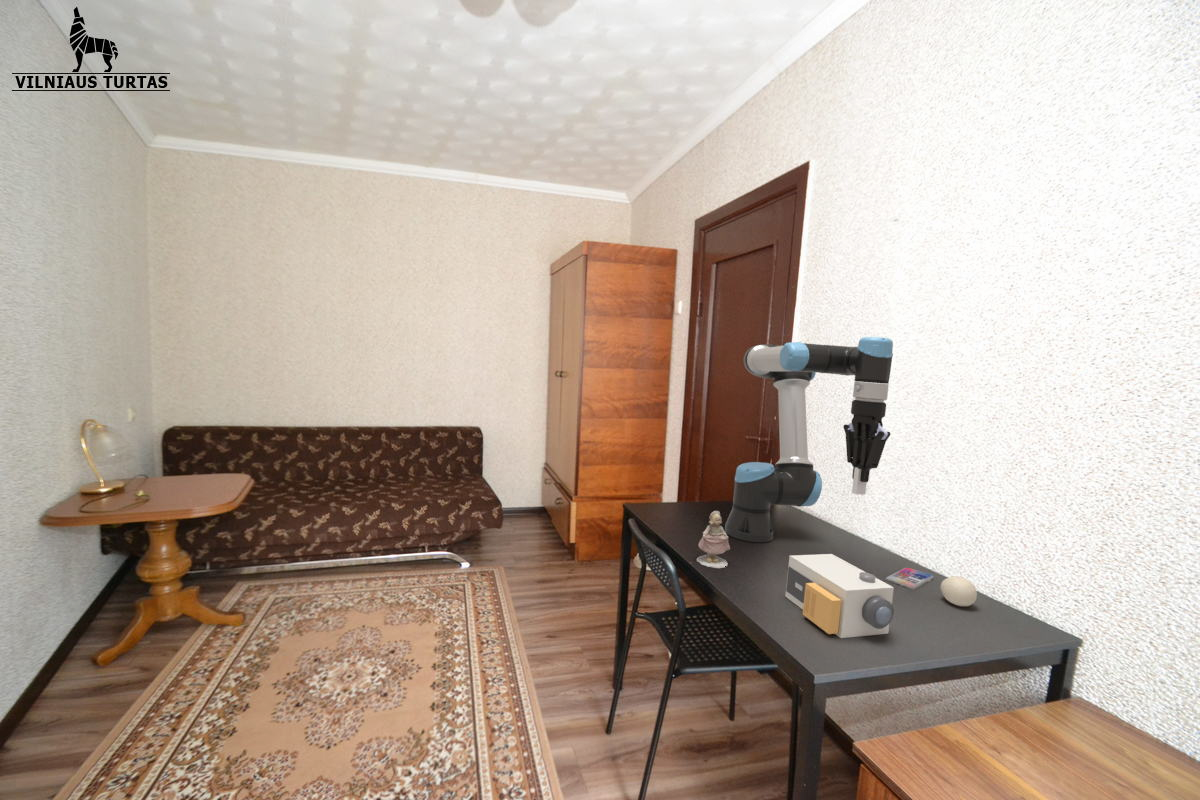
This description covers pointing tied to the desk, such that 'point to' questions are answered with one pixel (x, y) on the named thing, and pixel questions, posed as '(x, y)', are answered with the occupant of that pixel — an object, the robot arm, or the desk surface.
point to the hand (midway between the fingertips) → (858, 493)
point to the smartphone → (909, 578)
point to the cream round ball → (959, 591)
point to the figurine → (714, 543)
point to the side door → (822, 608)
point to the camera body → (844, 592)
